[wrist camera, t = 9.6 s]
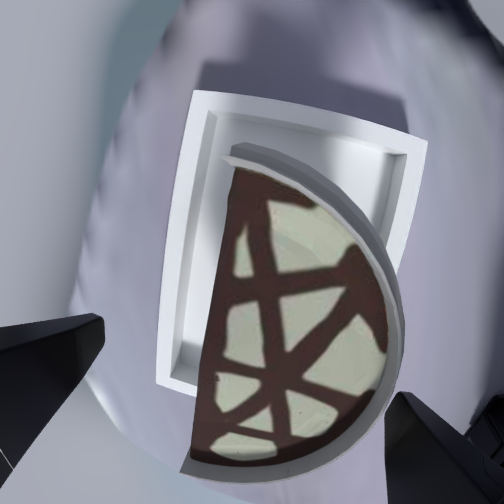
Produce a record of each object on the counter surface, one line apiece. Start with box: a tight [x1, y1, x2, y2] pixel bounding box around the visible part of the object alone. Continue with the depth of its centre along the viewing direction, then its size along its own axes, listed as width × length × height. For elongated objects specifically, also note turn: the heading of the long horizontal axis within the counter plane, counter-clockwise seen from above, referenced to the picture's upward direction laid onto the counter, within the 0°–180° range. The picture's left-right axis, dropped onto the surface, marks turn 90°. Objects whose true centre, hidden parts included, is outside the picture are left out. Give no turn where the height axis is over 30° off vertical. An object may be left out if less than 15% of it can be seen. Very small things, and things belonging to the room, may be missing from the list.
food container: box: [179, 142, 405, 485], centre depth 12 cm, size 12×6×10 cm, turn 169°
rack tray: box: [156, 90, 428, 397], centre depth 16 cm, size 12×18×2 cm, turn 169°
